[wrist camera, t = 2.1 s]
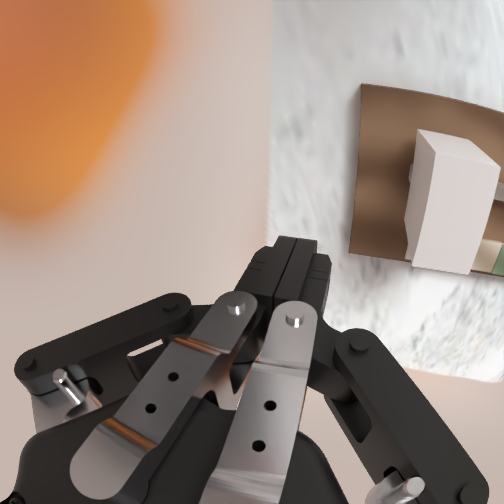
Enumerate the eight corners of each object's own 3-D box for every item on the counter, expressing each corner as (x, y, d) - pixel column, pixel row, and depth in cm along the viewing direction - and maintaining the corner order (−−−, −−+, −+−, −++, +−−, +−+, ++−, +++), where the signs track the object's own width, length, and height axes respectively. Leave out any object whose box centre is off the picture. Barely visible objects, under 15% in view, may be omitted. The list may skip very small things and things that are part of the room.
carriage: (416, 128, 18) (435, 152, 13) (467, 138, 16) (500, 167, 12) (394, 260, 24) (396, 313, 19) (437, 266, 23) (448, 320, 18)
